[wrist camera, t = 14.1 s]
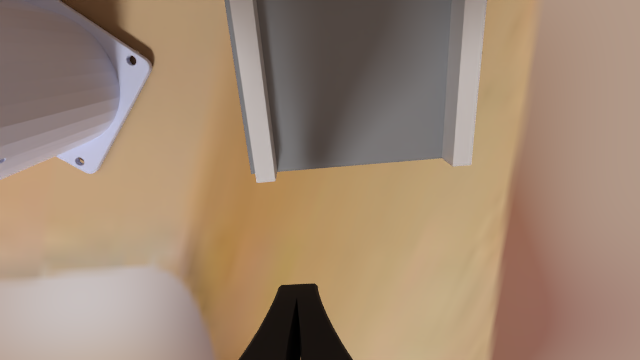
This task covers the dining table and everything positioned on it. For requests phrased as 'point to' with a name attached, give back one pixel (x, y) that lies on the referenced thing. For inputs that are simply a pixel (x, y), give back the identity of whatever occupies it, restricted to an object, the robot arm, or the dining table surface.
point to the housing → (356, 81)
